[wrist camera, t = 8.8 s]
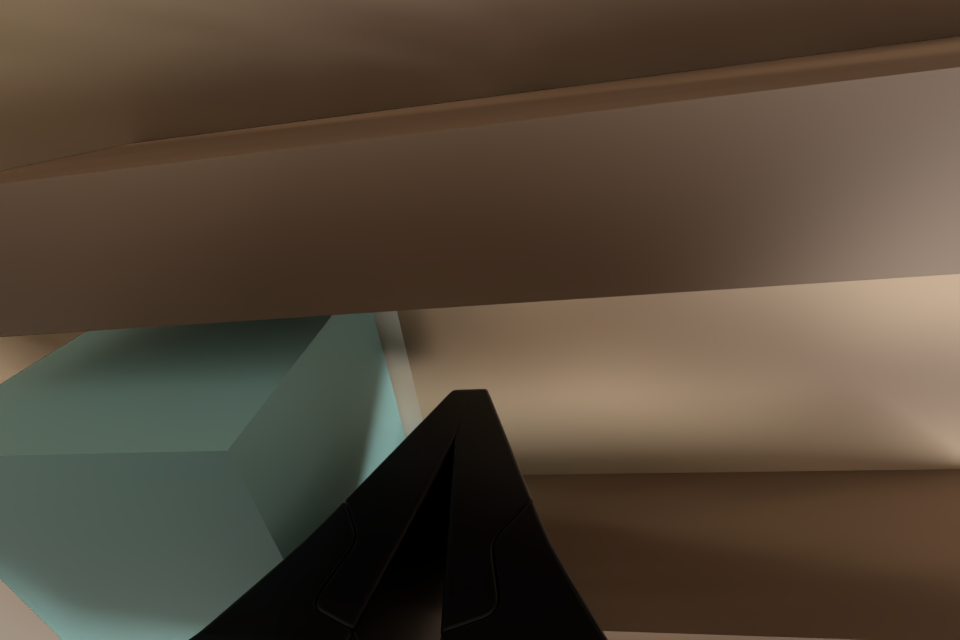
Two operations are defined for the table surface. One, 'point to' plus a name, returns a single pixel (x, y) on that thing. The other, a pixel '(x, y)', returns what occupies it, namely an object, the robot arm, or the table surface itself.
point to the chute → (604, 312)
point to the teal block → (182, 465)
